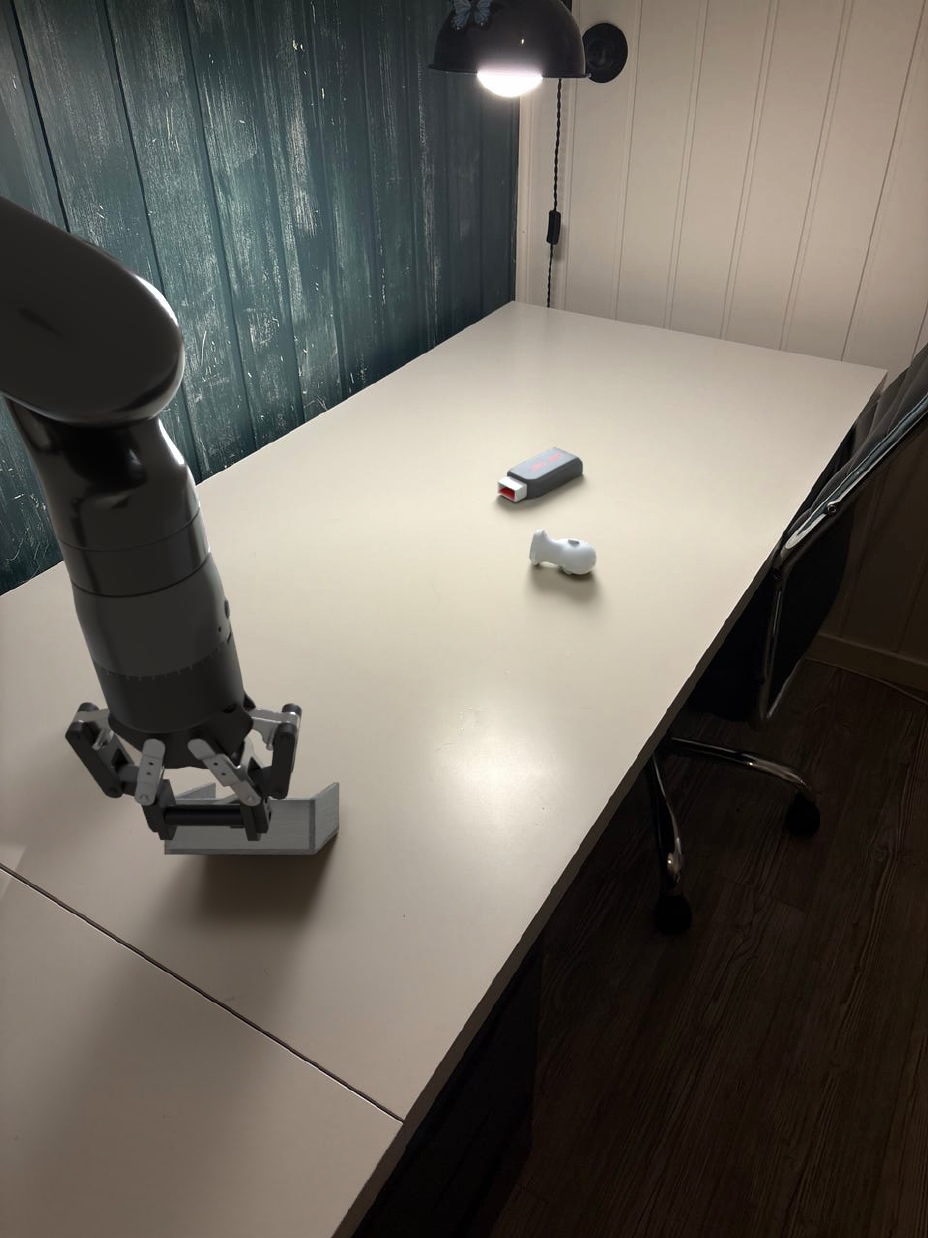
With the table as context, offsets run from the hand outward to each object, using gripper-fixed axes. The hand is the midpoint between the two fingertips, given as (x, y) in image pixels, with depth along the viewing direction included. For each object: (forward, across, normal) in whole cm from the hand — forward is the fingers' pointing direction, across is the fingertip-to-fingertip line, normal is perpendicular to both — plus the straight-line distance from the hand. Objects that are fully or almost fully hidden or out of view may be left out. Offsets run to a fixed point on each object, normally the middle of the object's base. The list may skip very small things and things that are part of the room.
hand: (214, 829), depth 60 cm
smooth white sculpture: (+13, +27, +50) cm, 58 cm away
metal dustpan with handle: (+7, 0, +4) cm, 8 cm away
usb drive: (+13, +25, +69) cm, 74 cm away
